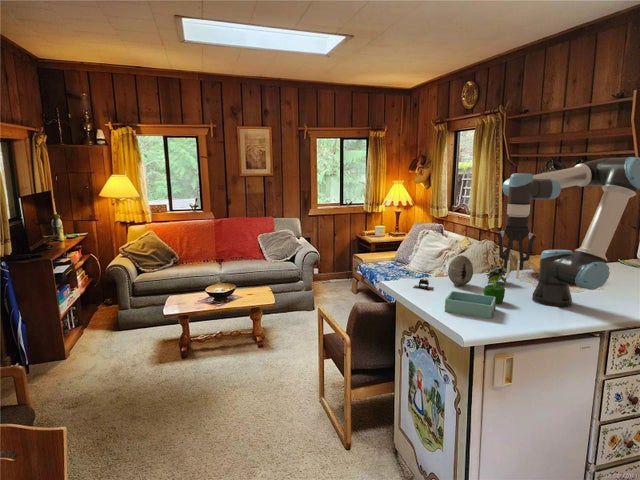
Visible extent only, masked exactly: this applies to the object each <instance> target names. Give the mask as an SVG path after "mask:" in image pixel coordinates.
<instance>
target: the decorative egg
mask: <svg viewBox="0 0 640 480" xmlns="http://www.w3.org/2000/svg"><path fill="white" fill-rule="evenodd" d="M447 275H448V278H449V280H450V281H451V282H452V283H453V284H454V285H457V286H465V285H467V284H469V282H471V280H472V278H473V275H474V267H473V263H472V261H471V260H470V259H469V257H468V256H466V255H463V254H462V255H461V254H460V255H457V256H455V257H453V259H452V260H451V262H450V263H449V266H448V268H447Z"/></svg>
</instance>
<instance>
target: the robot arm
mask: <svg viewBox="0 0 640 480" xmlns="http://www.w3.org/2000/svg"><path fill="white" fill-rule="evenodd" d="M575 186H578V187H588V186H590V187H591V186H595V187H596V186H597V187H601V189H602V191H603V194H602V196H601V199H600V201H599V204H598V206H597V208H596V209H595V212H594V215H593V218H592V220H591V222H590V224H589V226H588V229H587V232H586V234H585V235H584V236H585V237H584V239H583V241H582V243H581V246H579V248H576V249H574V251H572V250H569V249H546V250H543V251H542V252H541V254H540V259H539V271H538V282H537V285H536V286H535V289H534V291H532V298H531V300H532V301H533V302H535V303H537V304H540V305H544V306H547V307H548V306H549V307H555V308H568V307H571V306H572V305H573V298H572V294H571V290H570V285H572V286H575V287H578V288H579V289H586V290H589V291H591V290H593V291H594V290H597V289H599V288H602V286H604V285H605V284H606V283H607V281H608V279H609V277H610V274H611V272H610V266H609V265H608V264H607V262H608V258H607V257H606V253H607V251H608V248H609V246H610V244H611V241H612V239H613V237H614V235H615V232H616V230H617V228H618V225H619V224H620V221H621V219H622V216H623V213H624V211H625V209H626V207H627V204H628V202H629V199H630V198H632V197H634V196H636V195H637V193H638V191H639V190H640V157H634V156H628V157H603V158H599V159H594V160H590V161H586V162H583V163H578V164H576V165H574V166H573V167H569V168H564V169H557V170H552V171H547V172H542V173H539V174H532V173H512V174H511V175H510V178H507V179H506V180H505V181H504V182H503V184H502V191H503V194H504V195H505V196H507V209H506V215H507V216H506V221H505V228H504V229H503V230H501V231H498V232H497V233H496V235H497V237H498V248H499V249H498V251H499V252H498V253H499V255H498V256H499V259H502V260H504V261H503V262H504V263H503V266H504V268H506V269H507V270H506V269H505V270H506V271H507V273H505V278H506V279H507V278H510V277H509V276H510V273H509V270H511V269H510V268H511V267H510V266H511V259H510V252H511V249H512V245H513V242H514V241H516V242H518V250H519V251H518V252H519V260H517V265H516V274H515V275H516V276H515V279H516V280H518V279H519V278H520V271H523V269H524V262H528V261H529V260H530V256H531V252H532V247H533V242H534V241H535V239H536V237H537V235H536V234H535V233H532V232H531V231H530V229H529V225H530V223H529V222H530V217H529V215H530V212H531V202H532V200H548V201H549V200H553V199H556V198H558V197H559V196H560V194H561V192H562V191H561V190H562V189H565V188H569V187H575ZM505 235H506V238H508V243H507V247H506V250H505V253H504V236H505ZM527 236H528V239H529V241H528V246H527V250H526V254H525V255H524V244H523V243H524V239H525V238H526V237H527ZM504 254H505V255H504Z"/></svg>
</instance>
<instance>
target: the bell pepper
mask: <svg viewBox="0 0 640 480" xmlns="http://www.w3.org/2000/svg"><path fill="white" fill-rule="evenodd" d="M505 292H506V289H505V286H501V285H498V284H497V282H496V280H494V283H493V285H492V283H489V284H487V285H485V286H484V288H483V295H485V296H493V297H496V299H495V305H501V304H503V301H504V299H505V296H506V295H505V294H506V293H505Z"/></svg>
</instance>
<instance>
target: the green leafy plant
mask: <svg viewBox="0 0 640 480" xmlns="http://www.w3.org/2000/svg"><path fill="white" fill-rule="evenodd" d="M491 266H492V267H491V269H490V270H489V271H488V273H486V274H485V275H486V277H487V280H488V281H487V285H489V284H492V283H493V284H494V280H496V283H498V282H499V281H502V282H503V284H504V285H503V287H505V285H506V283H507V282H508V281H507V278H506V274H507V269H506V268H504V265H497V264H495V265H491ZM511 272H512V270H511V269H509V274H510V273H511Z"/></svg>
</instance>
